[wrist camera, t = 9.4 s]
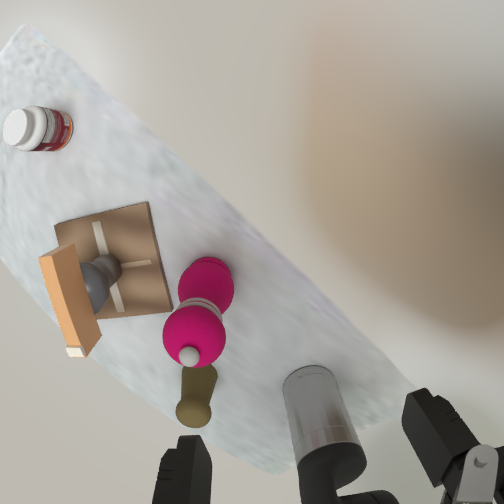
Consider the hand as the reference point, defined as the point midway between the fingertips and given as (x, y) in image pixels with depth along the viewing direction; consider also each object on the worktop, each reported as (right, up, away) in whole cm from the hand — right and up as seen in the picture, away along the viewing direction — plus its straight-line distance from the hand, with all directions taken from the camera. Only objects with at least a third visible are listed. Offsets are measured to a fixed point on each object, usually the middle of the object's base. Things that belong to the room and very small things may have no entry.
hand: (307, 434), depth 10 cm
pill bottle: (-31, +25, +26) cm, 48 cm away
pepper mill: (-8, +3, +33) cm, 34 cm away
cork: (-11, -14, +38) cm, 42 cm away
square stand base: (-23, +5, +32) cm, 40 cm away
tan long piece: (-23, +3, +24) cm, 33 cm away
